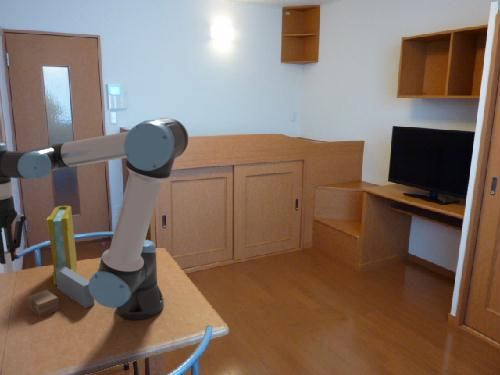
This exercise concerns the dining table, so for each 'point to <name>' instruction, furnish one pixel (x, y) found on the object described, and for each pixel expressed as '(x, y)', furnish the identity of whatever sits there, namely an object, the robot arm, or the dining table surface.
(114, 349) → the dining table surface
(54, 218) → the yellow rounded trough
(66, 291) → the slate board
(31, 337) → the dining table surface
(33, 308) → the brown rectangular block
